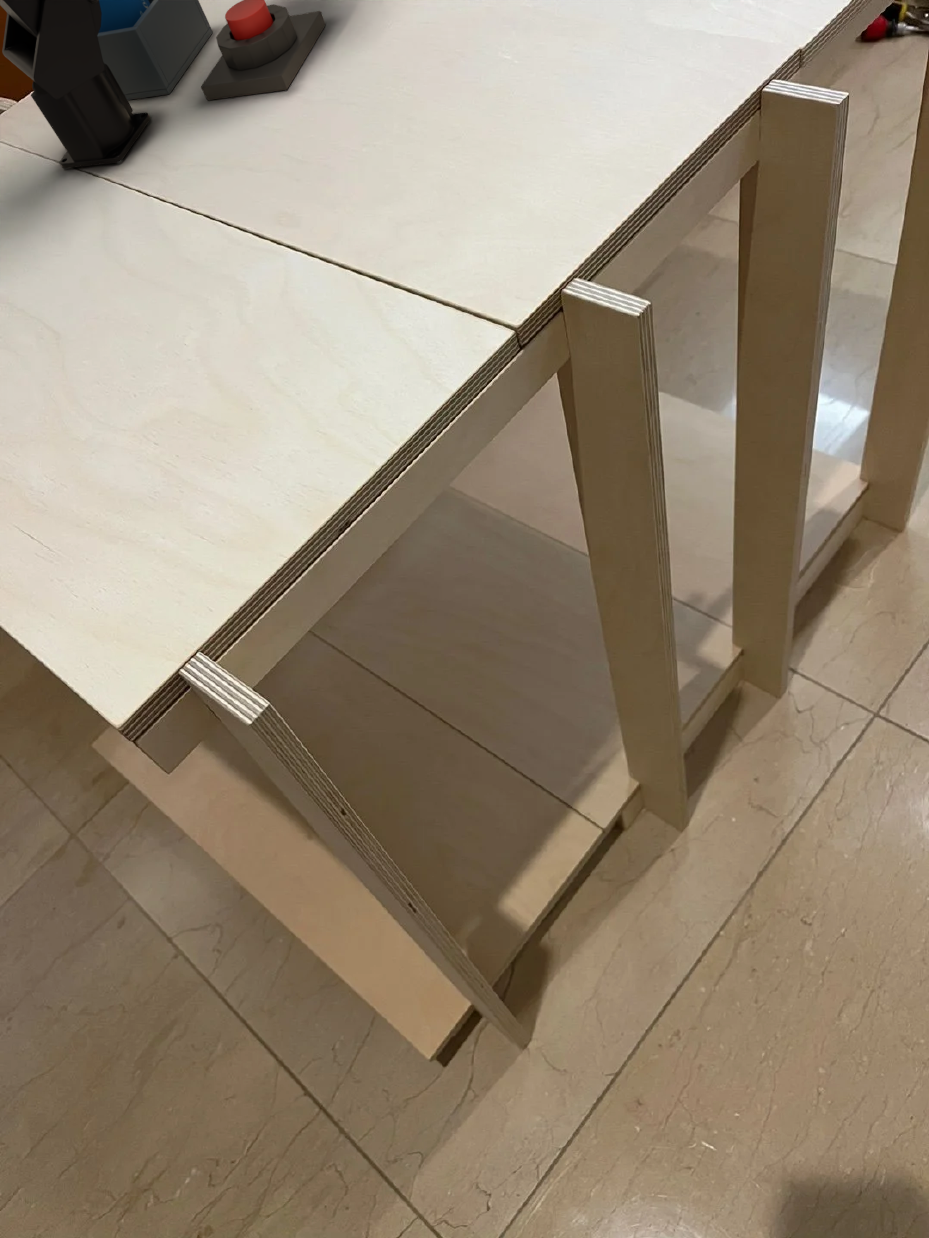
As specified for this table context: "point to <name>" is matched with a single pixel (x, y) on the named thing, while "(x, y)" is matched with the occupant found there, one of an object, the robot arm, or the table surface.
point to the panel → (263, 56)
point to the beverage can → (121, 13)
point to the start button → (248, 19)
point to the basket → (155, 47)
